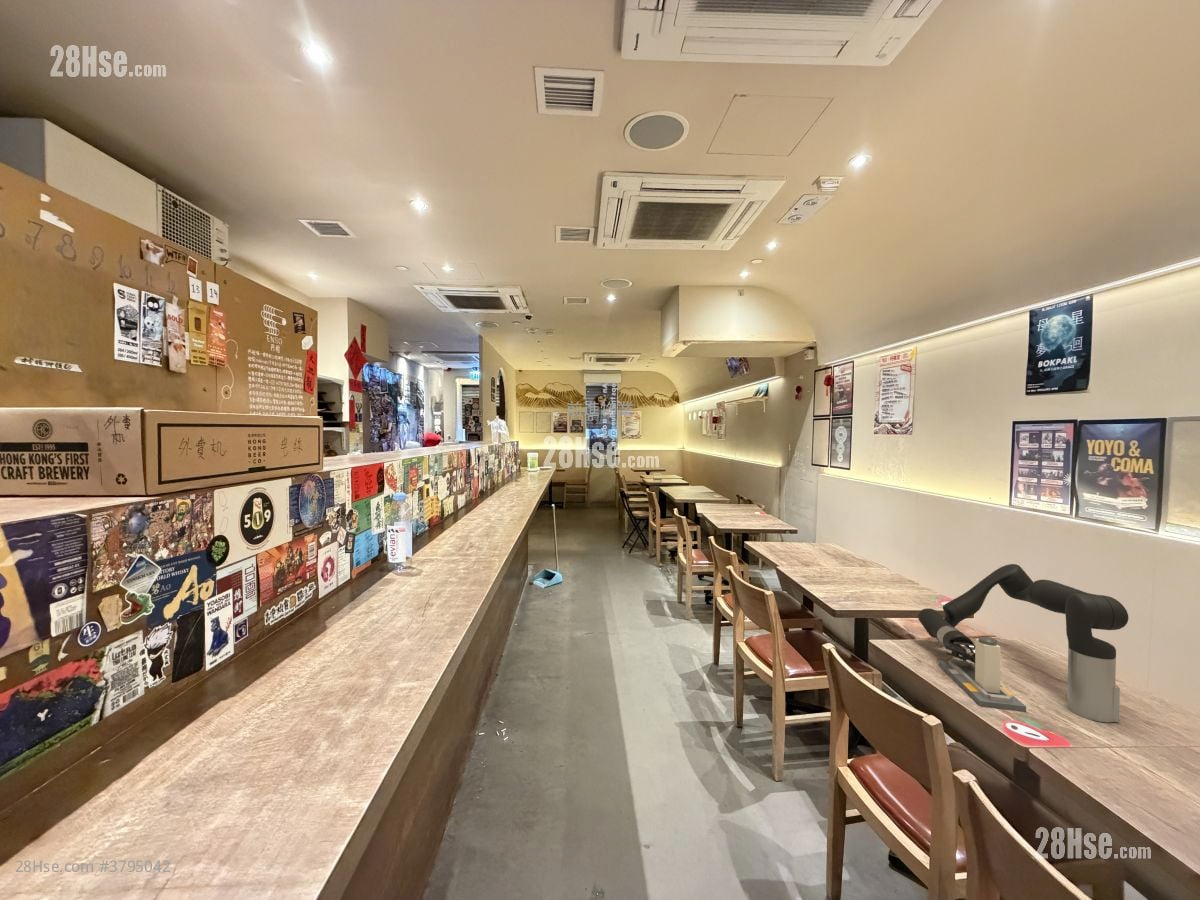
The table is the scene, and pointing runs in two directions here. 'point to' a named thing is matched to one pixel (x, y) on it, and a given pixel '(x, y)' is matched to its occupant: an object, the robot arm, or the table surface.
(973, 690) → the switch panel
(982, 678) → the slider knob
